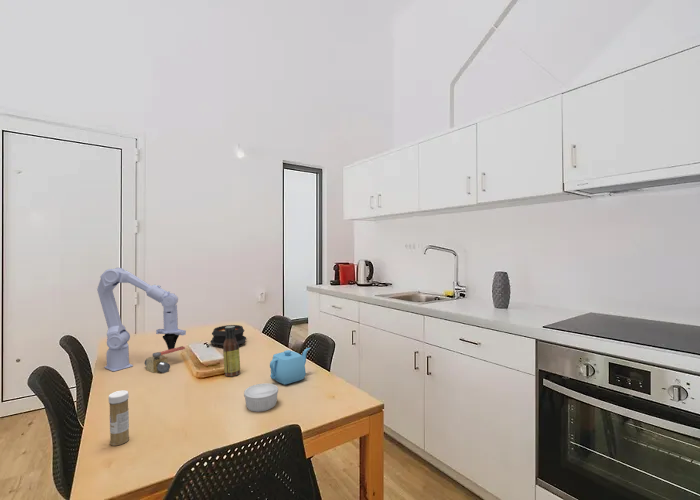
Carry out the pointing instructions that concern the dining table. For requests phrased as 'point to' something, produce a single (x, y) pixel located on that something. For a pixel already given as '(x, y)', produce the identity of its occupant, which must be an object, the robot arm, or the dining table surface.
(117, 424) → the sprinkles bottle
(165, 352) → the lever
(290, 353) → the teapot
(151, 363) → the valve fixture
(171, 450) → the dining table surface
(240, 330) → the casserole
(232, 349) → the sauce bottle
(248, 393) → the ramekin
